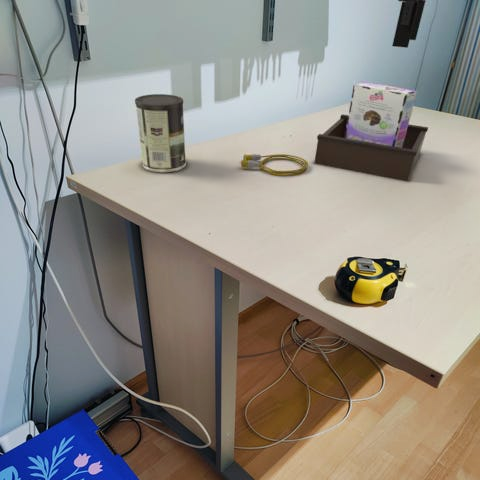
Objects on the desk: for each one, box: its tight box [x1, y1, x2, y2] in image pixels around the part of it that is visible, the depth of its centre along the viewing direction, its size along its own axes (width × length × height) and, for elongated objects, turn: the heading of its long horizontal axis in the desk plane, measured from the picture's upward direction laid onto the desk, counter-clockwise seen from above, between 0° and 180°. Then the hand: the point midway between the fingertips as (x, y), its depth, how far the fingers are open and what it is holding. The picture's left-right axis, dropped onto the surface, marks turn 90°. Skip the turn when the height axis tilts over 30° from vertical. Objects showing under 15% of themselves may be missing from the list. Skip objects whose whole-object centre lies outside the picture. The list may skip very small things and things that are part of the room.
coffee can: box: [134, 93, 187, 173], centre depth 95 cm, size 10×10×14 cm
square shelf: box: [314, 113, 429, 182], centre depth 106 cm, size 23×23×7 cm
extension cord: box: [240, 153, 309, 177], centre depth 101 cm, size 12×16×2 cm
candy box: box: [345, 81, 418, 148], centre depth 103 cm, size 14×6×16 cm, turn 46°
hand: (404, 43), depth 82 cm, fingers open, 13 cm apart
